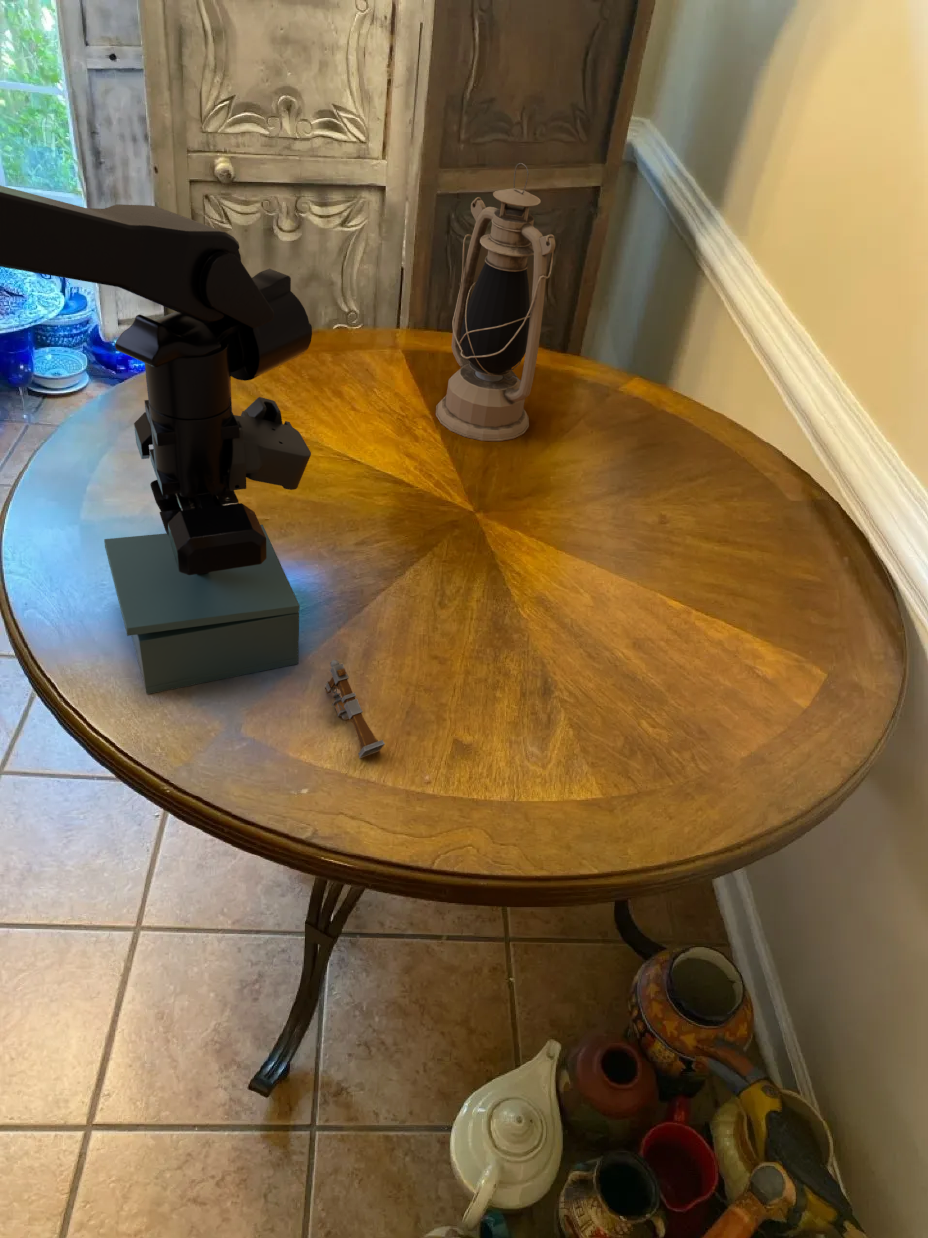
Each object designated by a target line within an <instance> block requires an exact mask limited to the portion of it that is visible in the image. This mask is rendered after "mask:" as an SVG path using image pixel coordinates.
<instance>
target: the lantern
mask: <svg viewBox="0 0 928 1238" xmlns="http://www.w3.org/2000/svg"><path fill="white" fill-rule="evenodd" d="M519 165H522V166H524V167H525V168H526V173H527V174H526V181H525V185H524V188H523V189H520V188H515V187H516V185H515V184H516V173H517V168H518V166H519ZM529 175H530V173H529V169H528V166H527V165H526V164H525V163H522V162H519V163H516V165H515V167H514V173H513V188H507V189H498V190H495V191H494V192H492V196H493V197H494V198H495V199H496V200H497V201H499V202H501V204H500V208H497V207H494V206H487V207H486V204H485V203H484V201H483V200H482V198H481V196H477V197H475V198H474V199H473V200H472V202H471V203H470V212H471V215H472V216H473V218H474V221H475V223H474V228H473V231H472V233H471V234H469V233H468V234H465V236H464V238H463V241H462V243H463V244H462V263H461V276H460V277H461V279H460V285H459V291H458V295H457V300H456V304H455V309H454V314H453V317H452V322H451V323H452V326H451V327H452V335H451V336H452V337H451V351H452V354H453V356H454V359H455V361H456V362H457V364H458V366H460V368H459V369H458V370H457V371H456V372H455V373H453V374H452V375H451V377H449V378H448V381H447V390H446V395H445V396H444V397H443V398H442V399H441V400H440V401H439V402H438V403H437V404H436V406H435V416H436V418H437V419H438V421H439V423H440V424H441V425H442V426H443V427H445V428H446V429H447V430H449V431H450V432H452V433H455V434H457V435H460V436H461V437H464V438H468V439H472V440H477V441H482V442H502V441H509V440H514V439H516V438H519V437H520V436H522V435H524V434H525V433H526V431H527V430H528V429H529V427H530V421H529V420H530V418H529V415H528V413H527V411H526V410H525V408H524V407H525V402H526V399H527V398H528V397H529V396H530V395H531V392H532V391H531V390H532V386H533V383H534V377H535V372H536V365H537V359H538V353H539V346H540V340H541V332H542V331H541V330H542V322H543V313H544V305H545V293H546V280H547V279H549V278H550V277H551V275H552V269H553V263H554V251H555V249H556V240H555V235H553V234H547V235H544V236H543V233H542V232H541V231H540V230H539V229H538V228H537V227H534V221H535V217H534V216H533V215H532V214H530V213H529V212H530V208H532V207H536V206H538V205H539V204H541V201H542V200H541V199H540V198H539V197H538V196H536V195H534V194H532V193H530V192H529V191H526V188H527V184H528V180H529ZM509 205H510V206H509ZM490 223H491V227H490V233H487V234H486V231H487V228H488V226H489V224H490ZM467 237H469V238H470V240H469V241H470V242H469V245H468V250H467V254H466V258H465V247H466V246H465V245H466V240H467ZM482 247H483V248H485V249H486V250H487V255H486V256H485V258H484V264H483V266H482V268H481V270H480V273H479V275H478V277H477V279H476V281H475V282H474V280H475V275H476V270H477V266H478V262H479V258H480V253H481V250H482ZM550 254H551V260H550V266H549V272H548V274H547V257H548V255H550ZM530 256H533V274H532V275H533V276H532V288H531V289H532V291H531V300H530V284H529V283H530V282H529V276H528V275H529V274H528V268H529V263H528V258H529V257H530ZM473 287H474V288H473ZM523 359H524V361H523V368H522V374H521V378H519V377H518V375H517V374H516V373H515V372H514V370H515V369H516V368H517V367H518V366H520V364H521V363H522V360H523Z"/></svg>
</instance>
